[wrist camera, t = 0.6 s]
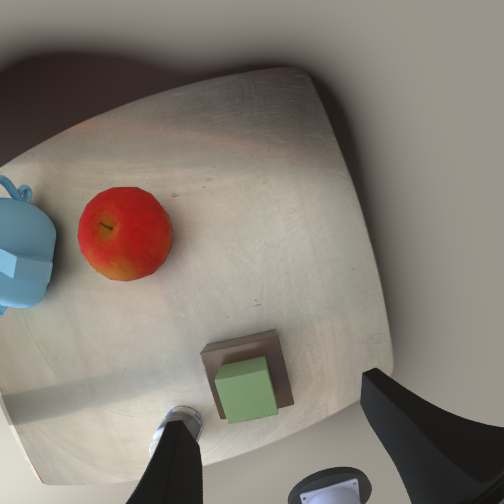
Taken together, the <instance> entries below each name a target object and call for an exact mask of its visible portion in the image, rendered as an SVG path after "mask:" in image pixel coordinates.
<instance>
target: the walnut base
mask: <svg viewBox="0 0 504 504" xmlns="http://www.w3.org/2000/svg"><path fill="white" fill-rule="evenodd" d="M200 354H201V357H202V361H203V364H204V368H205V371H206V374H207V378H208V381H209V384H210V388H211V391H212V394H213V397H214V400H215V403H216V406H217V410H218V413H219V416H220V419H227V418H226V415H225V412H224V409H223V406H222V403H221V400H220V396H219V393H218V390H217V387H216V383H215V378H216V376H217V373H218V371H219V368H220V366H221V365H225V364H230V363H235V362H239V361H244V360H249V359H253V358H257V357H262V356H265V357H266V361H267V365H268V369H269V373H270V377H271V381H272V385H273V389H274V393H275V397H276V403H277V408H282V407H286V406H290V405H294V401H293V397H292V392H291V388H290V384H289V380H288V376H287V372H286V368H285V363H284V359H283V355H282V351H281V347H280V343H279V339H278V335H277V333H276V331H275V329H273V330H269V331H265V332H261V333H257V334H253V335H248V336H244V337H240V338H235V339H230V340H226V341H221V342H216V343H211V344H207V345H206V346H205V347H204V349H203V350H202V351H201V353H200Z"/></svg>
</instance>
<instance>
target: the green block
mask: <svg viewBox="0 0 504 504" xmlns="http://www.w3.org/2000/svg"><path fill="white" fill-rule="evenodd" d="M215 383H216V387H217V390H218V393H219V396H220V400H221V403H222V406H223V409H224V412H225V415H226V418H227V421H228V424H230V423H236V422H242V421H247V420H252V419H257V418H262V417H267V416H271V415H276V414H278V408H277V403H276V397H275V393H274V389H273V385H272V381H271V377H270V373H269V369H268V365H267V361H266V357H265V356H262V357H257V358H253V359H249V360H244V361H239V362H235V363H230V364H225V365H221V366H220V368H219V371H218V373H217V376H216V378H215Z"/></svg>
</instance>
